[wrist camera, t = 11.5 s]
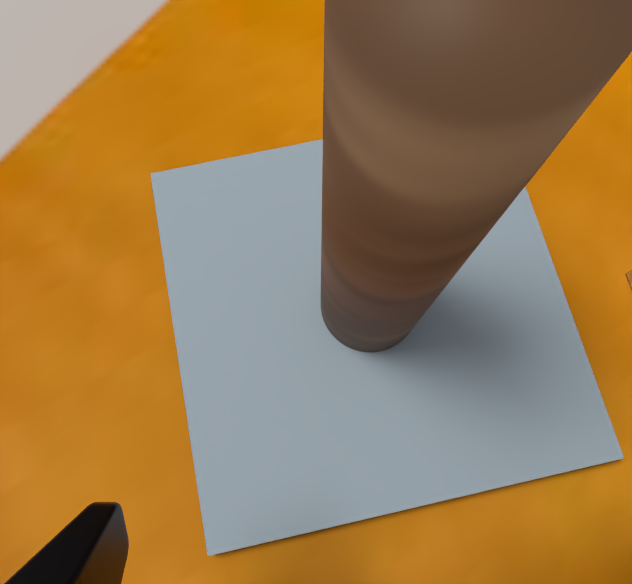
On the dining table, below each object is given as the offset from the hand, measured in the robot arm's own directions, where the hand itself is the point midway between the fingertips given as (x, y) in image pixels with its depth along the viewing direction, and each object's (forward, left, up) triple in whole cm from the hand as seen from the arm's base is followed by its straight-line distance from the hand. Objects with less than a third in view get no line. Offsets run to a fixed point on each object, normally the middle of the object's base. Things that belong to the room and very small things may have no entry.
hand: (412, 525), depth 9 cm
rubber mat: (+6, -1, -8) cm, 10 cm away
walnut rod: (+6, -1, -8) cm, 10 cm away
